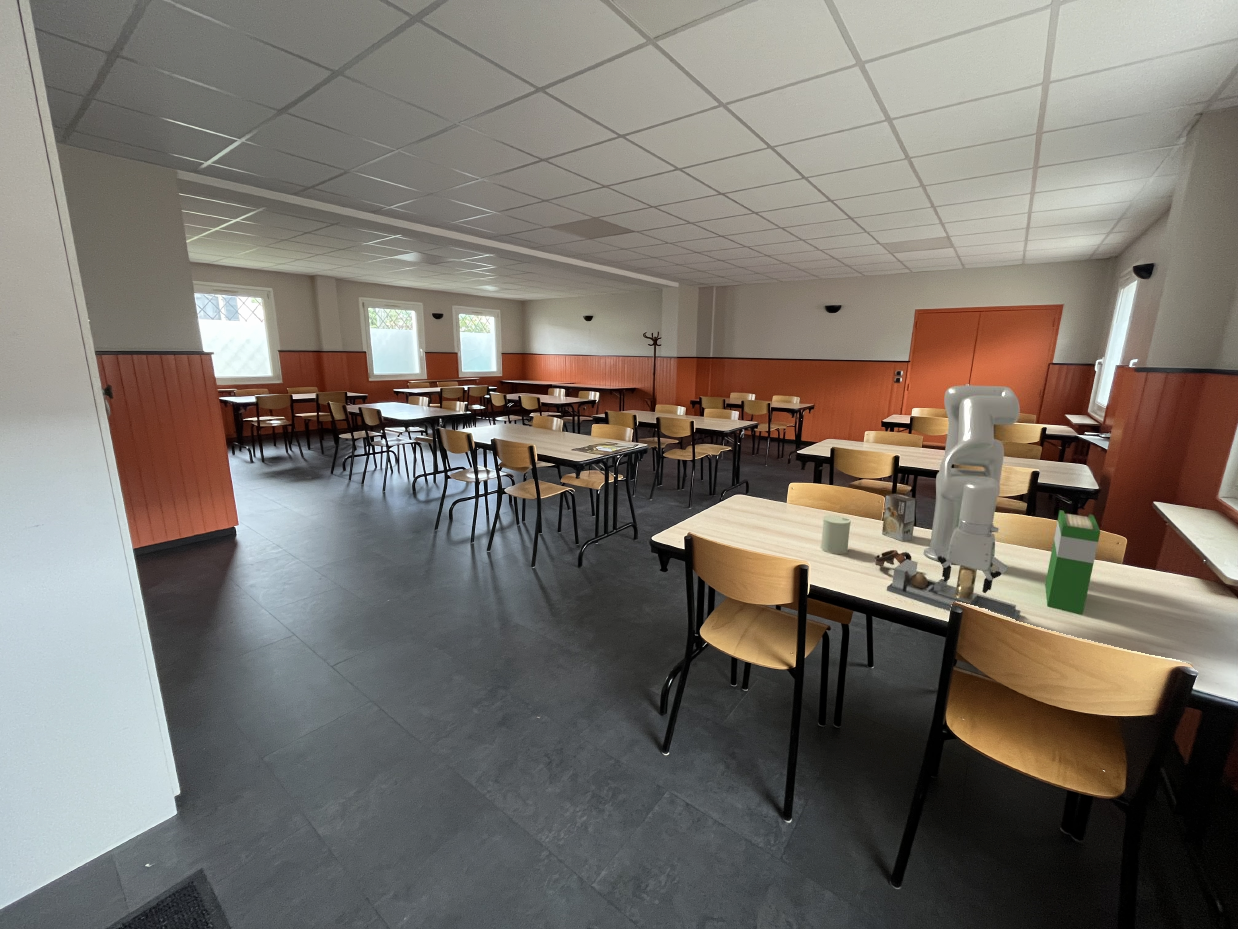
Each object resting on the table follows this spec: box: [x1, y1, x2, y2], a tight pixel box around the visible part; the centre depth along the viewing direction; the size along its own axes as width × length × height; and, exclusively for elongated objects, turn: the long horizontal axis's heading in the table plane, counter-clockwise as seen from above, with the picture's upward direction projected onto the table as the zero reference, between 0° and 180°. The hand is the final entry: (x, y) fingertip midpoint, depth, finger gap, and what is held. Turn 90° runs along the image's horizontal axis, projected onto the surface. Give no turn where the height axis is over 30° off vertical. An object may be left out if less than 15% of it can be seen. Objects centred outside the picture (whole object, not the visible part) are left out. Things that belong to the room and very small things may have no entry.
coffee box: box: [881, 493, 918, 542], centre depth 195 cm, size 9×6×16 cm
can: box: [820, 514, 852, 555], centre depth 183 cm, size 9×9×12 cm
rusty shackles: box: [874, 549, 912, 568], centre depth 165 cm, size 12×10×8 cm
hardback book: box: [1044, 509, 1101, 615], centre depth 145 cm, size 18×7×24 cm, turn 142°
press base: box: [886, 559, 1021, 621], centre depth 144 cm, size 12×30×7 cm, turn 41°
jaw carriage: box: [933, 565, 979, 605], centre depth 143 cm, size 7×9×10 cm
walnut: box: [911, 573, 928, 589], centre depth 150 cm, size 4×4×4 cm
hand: (965, 585), depth 141 cm, fingers open, 9 cm apart
